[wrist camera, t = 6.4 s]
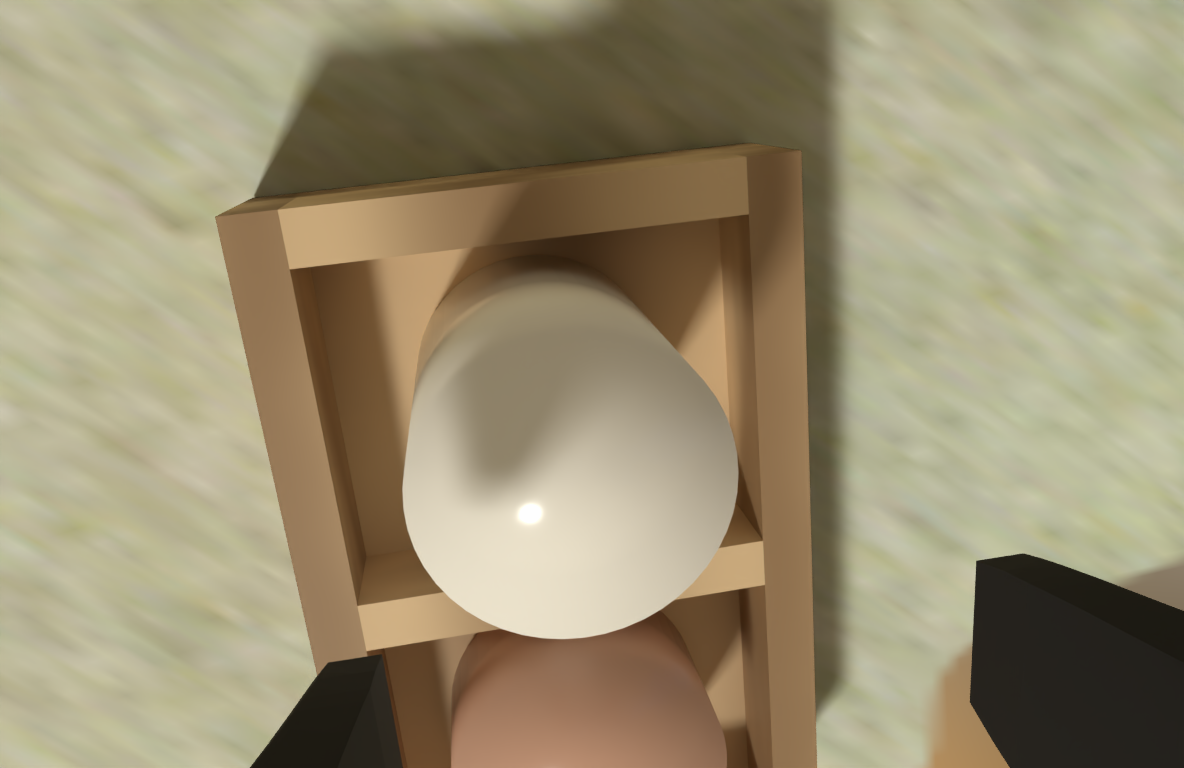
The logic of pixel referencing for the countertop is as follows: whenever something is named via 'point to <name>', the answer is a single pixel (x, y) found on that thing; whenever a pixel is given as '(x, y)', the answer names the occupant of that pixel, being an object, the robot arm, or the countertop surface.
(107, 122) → the countertop surface
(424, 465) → the cream cylinder
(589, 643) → the pinkish tan dome
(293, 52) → the countertop surface
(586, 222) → the tray
